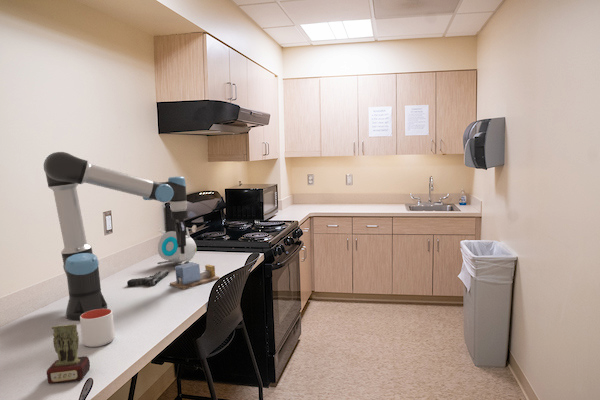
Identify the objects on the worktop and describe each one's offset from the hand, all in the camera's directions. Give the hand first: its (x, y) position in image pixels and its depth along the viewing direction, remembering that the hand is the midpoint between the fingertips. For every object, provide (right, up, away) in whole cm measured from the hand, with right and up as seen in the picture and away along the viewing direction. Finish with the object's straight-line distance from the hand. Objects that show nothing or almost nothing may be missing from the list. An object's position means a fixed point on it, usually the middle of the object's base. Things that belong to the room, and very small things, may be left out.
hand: (182, 260), depth 219 cm
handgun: (-19, -12, +12) cm, 26 cm away
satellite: (-13, -8, +42) cm, 45 cm away
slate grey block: (+2, -11, +3) cm, 11 cm away
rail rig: (+5, -11, +5) cm, 13 cm away
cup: (-13, -20, -61) cm, 65 cm away
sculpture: (-11, -23, -85) cm, 88 cm away
